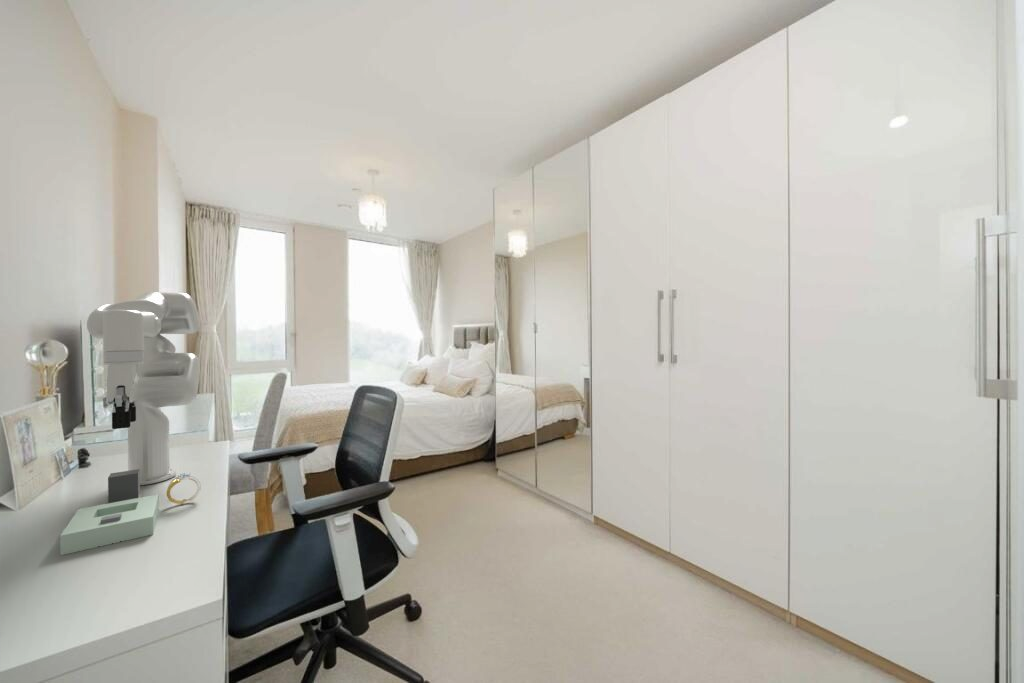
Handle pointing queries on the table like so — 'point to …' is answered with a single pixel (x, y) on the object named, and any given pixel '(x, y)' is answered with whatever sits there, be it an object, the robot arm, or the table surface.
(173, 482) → the ring
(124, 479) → the plug
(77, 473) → the table surface
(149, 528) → the socket
